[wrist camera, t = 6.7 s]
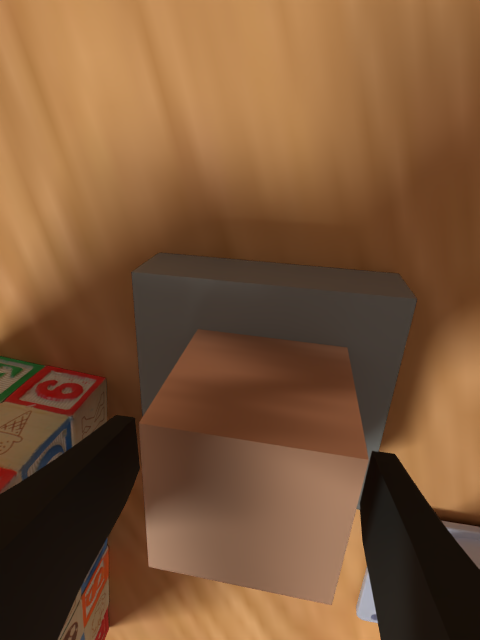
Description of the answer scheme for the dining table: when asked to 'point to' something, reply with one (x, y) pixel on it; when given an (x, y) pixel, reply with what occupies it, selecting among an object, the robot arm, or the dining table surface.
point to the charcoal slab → (275, 318)
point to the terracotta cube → (254, 464)
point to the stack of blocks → (54, 457)
